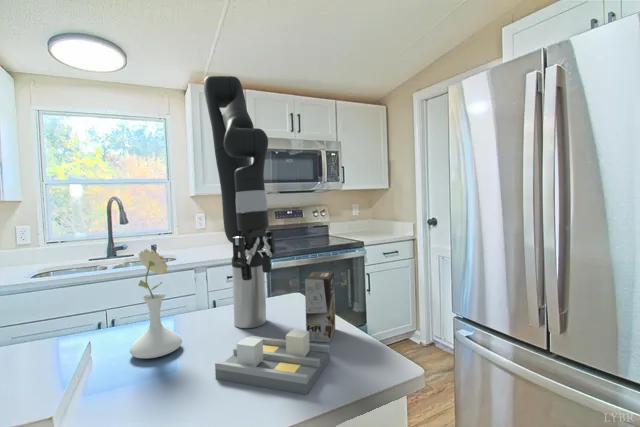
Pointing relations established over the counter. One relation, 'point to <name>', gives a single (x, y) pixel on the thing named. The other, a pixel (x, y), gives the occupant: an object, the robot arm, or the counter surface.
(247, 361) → the pale grey cube
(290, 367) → the grey ridged tray
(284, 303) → the counter surface
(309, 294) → the coffee box
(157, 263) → the flower in vase
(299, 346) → the cream cube
